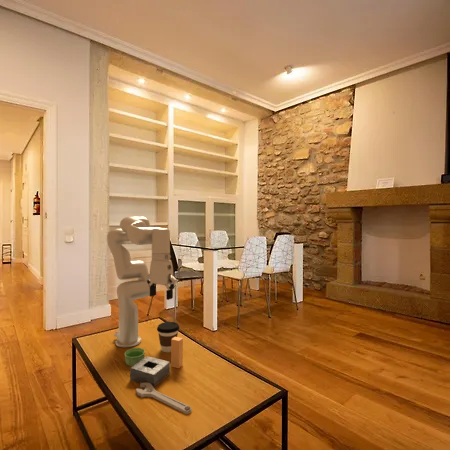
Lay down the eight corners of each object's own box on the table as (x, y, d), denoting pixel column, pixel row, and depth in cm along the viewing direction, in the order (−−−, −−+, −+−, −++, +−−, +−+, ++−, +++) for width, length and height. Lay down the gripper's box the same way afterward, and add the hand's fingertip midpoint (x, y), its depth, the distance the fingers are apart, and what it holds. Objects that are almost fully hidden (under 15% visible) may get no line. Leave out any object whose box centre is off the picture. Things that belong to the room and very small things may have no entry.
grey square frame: (130, 380, 115) (130, 367, 115) (147, 367, 125) (147, 356, 124) (154, 387, 110) (154, 374, 110) (169, 373, 120) (169, 361, 120)
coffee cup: (171, 342, 149) (171, 319, 149) (183, 349, 141) (184, 325, 141) (152, 349, 141) (152, 325, 141) (164, 357, 134) (165, 331, 133)
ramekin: (136, 355, 136) (136, 345, 135) (149, 360, 131) (149, 351, 131) (119, 363, 128) (119, 353, 128) (133, 369, 123) (133, 359, 123)
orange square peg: (178, 368, 124) (179, 340, 124) (171, 366, 126) (171, 339, 126) (182, 364, 127) (182, 338, 127) (174, 362, 129) (175, 336, 128)
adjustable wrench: (193, 412, 98) (193, 407, 98) (179, 423, 93) (179, 417, 92) (146, 384, 112) (146, 380, 112) (132, 393, 107) (132, 388, 107)
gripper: (182, 257, 120) (182, 298, 120) (152, 254, 129) (153, 292, 129) (169, 259, 113) (170, 302, 114) (139, 256, 123) (140, 296, 123)
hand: (161, 297), depth 121 cm, fingers open, 9 cm apart
